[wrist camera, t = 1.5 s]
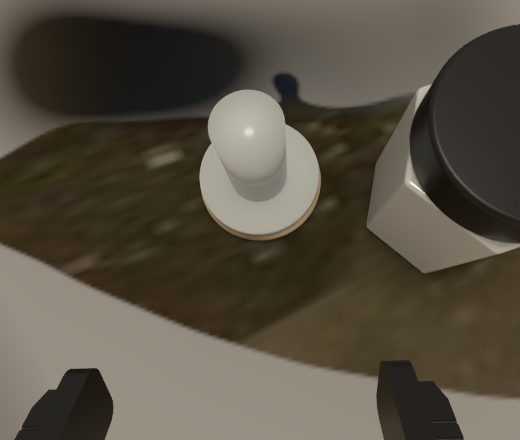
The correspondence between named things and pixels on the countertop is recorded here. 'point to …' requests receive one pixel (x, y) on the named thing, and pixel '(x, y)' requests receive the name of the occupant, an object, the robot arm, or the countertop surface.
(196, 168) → the countertop surface
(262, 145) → the lid
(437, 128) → the jar
